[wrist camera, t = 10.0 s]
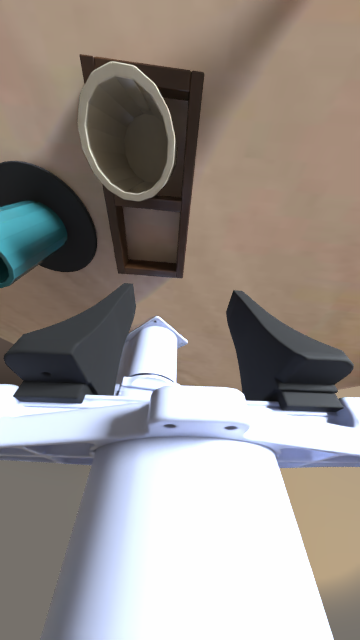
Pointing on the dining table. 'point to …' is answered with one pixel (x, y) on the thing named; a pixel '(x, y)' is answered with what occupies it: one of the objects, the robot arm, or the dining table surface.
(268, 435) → the robot arm
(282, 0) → the dining table surface
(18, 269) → the teal cup
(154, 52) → the dining table surface
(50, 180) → the coaster
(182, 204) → the holder
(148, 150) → the cream cup
